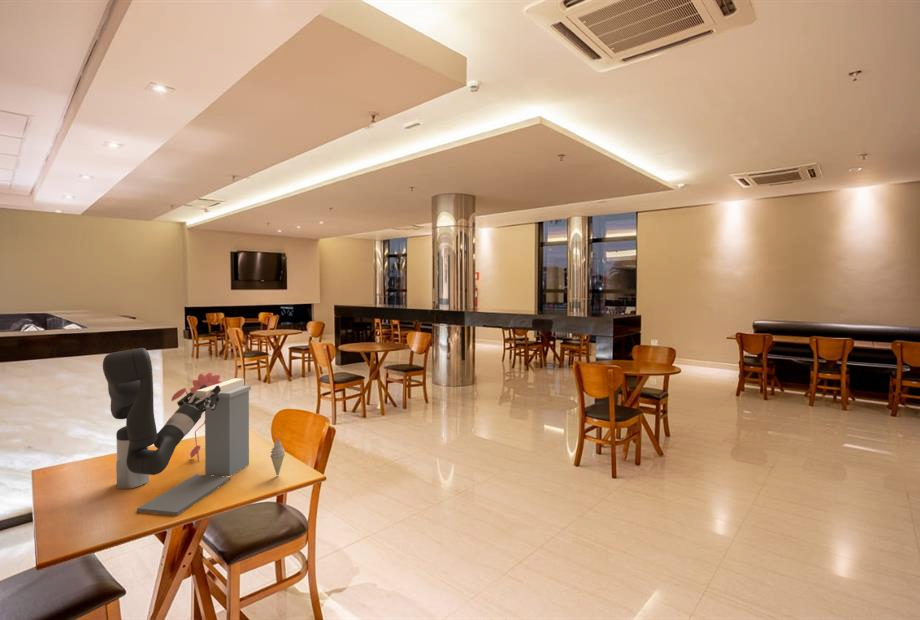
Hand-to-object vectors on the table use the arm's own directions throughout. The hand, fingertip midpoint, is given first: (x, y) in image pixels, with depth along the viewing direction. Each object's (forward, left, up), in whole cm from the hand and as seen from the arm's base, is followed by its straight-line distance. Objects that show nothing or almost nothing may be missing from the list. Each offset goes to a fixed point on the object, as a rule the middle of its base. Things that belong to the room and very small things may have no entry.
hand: (212, 387), depth 165 cm
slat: (+3, +4, -3) cm, 6 cm away
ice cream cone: (+21, -10, -35) cm, 42 cm away
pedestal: (+6, +6, -35) cm, 36 cm away
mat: (-9, -10, -35) cm, 37 cm away
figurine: (+1, +28, -35) cm, 45 cm away
